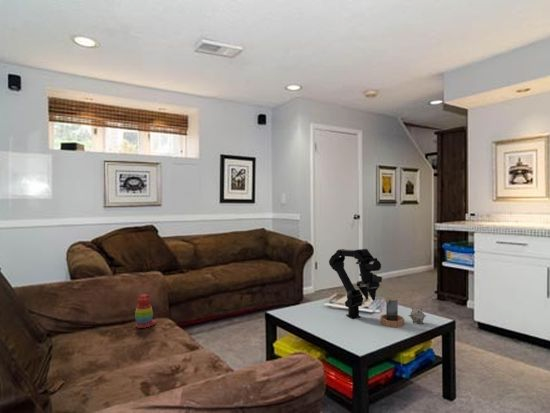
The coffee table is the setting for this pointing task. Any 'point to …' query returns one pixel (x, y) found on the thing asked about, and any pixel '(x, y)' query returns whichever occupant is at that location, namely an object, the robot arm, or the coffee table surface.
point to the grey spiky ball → (417, 315)
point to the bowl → (392, 323)
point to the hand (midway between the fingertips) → (370, 299)
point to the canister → (392, 308)
